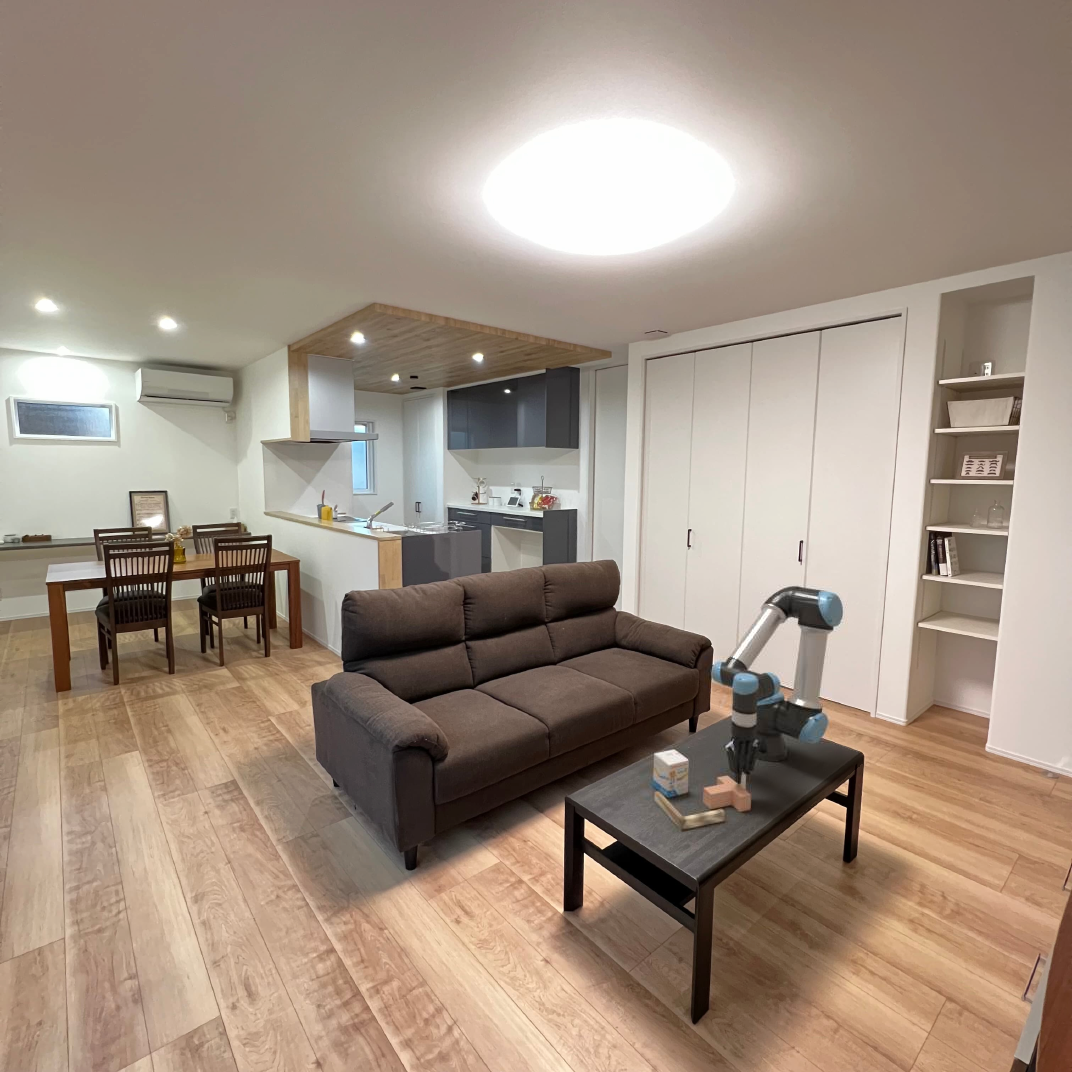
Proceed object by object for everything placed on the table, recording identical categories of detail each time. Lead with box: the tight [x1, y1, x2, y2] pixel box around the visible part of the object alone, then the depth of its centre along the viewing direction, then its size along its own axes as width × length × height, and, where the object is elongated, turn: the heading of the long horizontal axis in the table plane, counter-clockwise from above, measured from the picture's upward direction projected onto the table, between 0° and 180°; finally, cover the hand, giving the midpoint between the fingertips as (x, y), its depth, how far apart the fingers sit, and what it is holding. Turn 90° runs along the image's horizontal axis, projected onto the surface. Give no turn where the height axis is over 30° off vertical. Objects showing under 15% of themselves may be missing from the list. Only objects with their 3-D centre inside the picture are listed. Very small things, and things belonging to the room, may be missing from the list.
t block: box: [702, 775, 752, 813], centre depth 184 cm, size 12×12×5 cm
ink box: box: [652, 749, 690, 799], centre depth 191 cm, size 9×8×12 cm
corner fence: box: [654, 790, 726, 831], centre depth 180 cm, size 15×16×3 cm
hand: (740, 791), depth 186 cm, fingers closed
